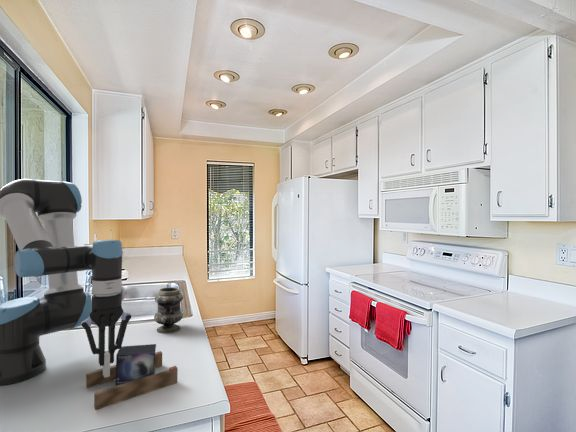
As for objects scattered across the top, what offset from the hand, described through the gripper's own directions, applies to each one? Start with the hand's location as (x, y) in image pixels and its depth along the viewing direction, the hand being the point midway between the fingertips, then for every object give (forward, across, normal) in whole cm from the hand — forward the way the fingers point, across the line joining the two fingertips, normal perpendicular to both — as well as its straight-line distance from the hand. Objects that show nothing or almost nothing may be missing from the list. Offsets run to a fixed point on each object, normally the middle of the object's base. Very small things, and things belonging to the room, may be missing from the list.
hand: (106, 375), depth 93 cm
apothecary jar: (+5, +32, +40) cm, 51 cm away
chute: (+5, +7, +1) cm, 9 cm away
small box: (+5, +8, 0) cm, 10 cm away
